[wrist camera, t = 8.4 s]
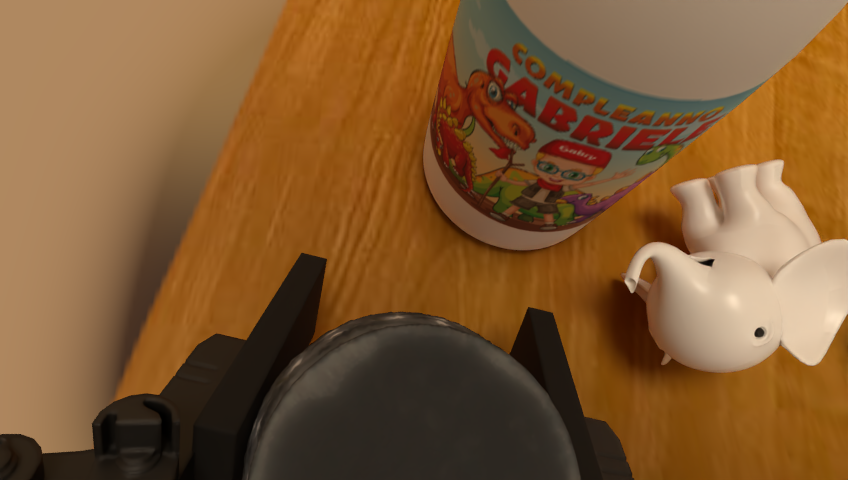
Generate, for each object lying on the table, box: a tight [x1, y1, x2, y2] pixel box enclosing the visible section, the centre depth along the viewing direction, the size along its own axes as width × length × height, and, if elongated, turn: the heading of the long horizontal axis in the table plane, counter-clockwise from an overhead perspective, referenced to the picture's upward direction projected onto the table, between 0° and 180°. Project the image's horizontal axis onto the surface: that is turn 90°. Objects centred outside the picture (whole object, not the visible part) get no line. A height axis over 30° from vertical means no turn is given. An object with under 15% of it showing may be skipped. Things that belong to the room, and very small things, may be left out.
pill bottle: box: [242, 312, 581, 480], centre depth 12 cm, size 6×6×11 cm
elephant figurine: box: [621, 160, 848, 373], centre depth 17 cm, size 7×12×6 cm
